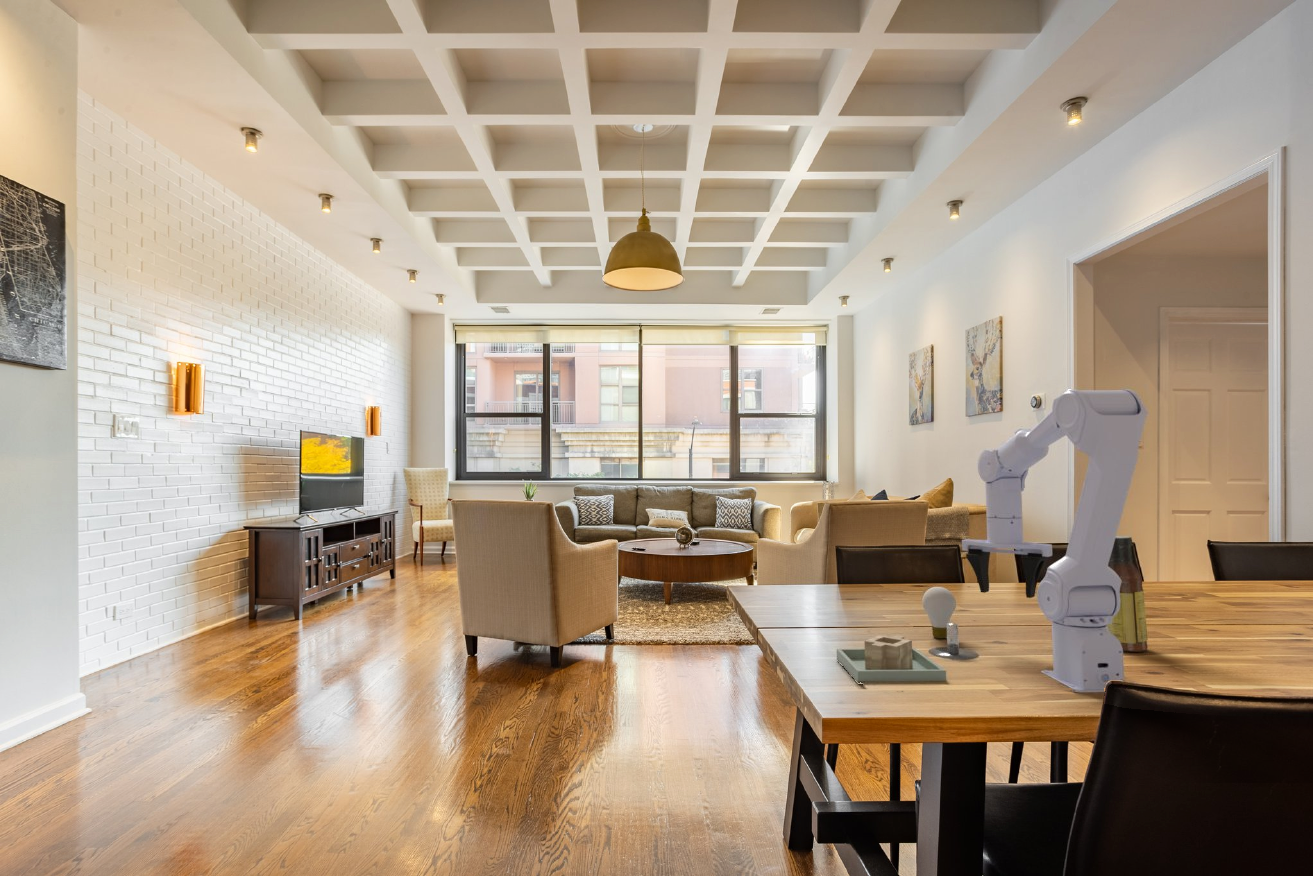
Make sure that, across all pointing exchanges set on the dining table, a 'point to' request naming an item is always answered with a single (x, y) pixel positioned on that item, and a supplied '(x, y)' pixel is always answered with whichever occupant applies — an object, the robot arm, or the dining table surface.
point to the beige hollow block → (888, 653)
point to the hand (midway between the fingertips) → (1007, 594)
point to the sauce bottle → (1128, 599)
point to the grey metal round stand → (953, 646)
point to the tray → (920, 672)
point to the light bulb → (939, 609)
